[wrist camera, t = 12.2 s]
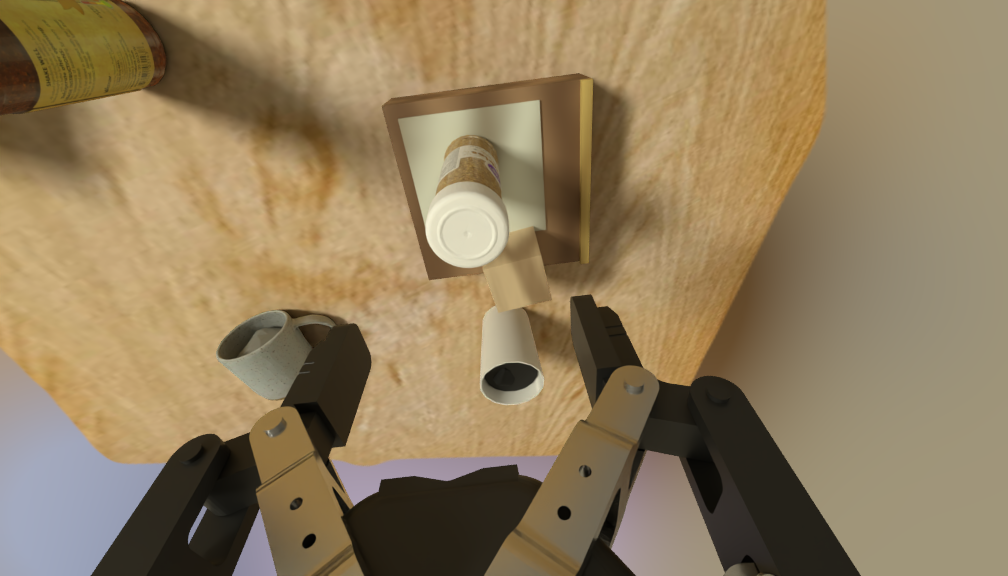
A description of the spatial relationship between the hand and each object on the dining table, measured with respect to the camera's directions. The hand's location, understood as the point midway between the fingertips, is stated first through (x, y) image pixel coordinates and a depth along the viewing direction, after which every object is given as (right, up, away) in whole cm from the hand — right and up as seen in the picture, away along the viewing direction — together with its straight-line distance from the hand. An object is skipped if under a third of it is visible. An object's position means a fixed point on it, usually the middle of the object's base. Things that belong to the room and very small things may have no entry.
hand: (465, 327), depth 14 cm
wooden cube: (+5, +4, +20) cm, 21 cm away
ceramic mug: (-24, -4, +31) cm, 40 cm away
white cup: (+2, -3, +32) cm, 33 cm away
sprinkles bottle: (-1, +12, +17) cm, 21 cm away
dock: (+1, +12, +22) cm, 25 cm away
